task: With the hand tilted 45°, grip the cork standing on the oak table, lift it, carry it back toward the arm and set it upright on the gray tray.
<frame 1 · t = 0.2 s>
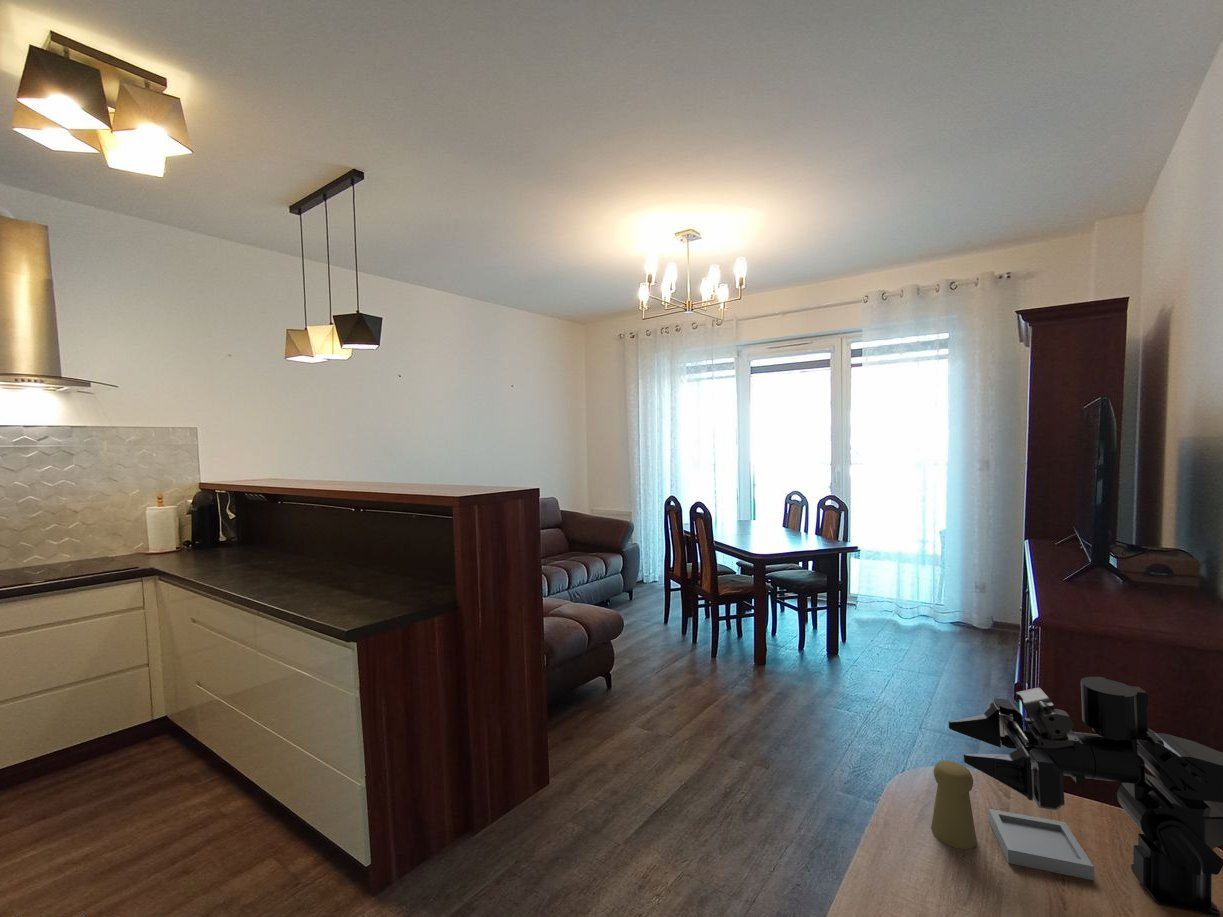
hand: (955, 740, 81), 17 cm above the table, tool horizontal, fingers open, 9 cm apart
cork: (953, 835, 84), on the table
gray tray: (1037, 848, 81), on the table
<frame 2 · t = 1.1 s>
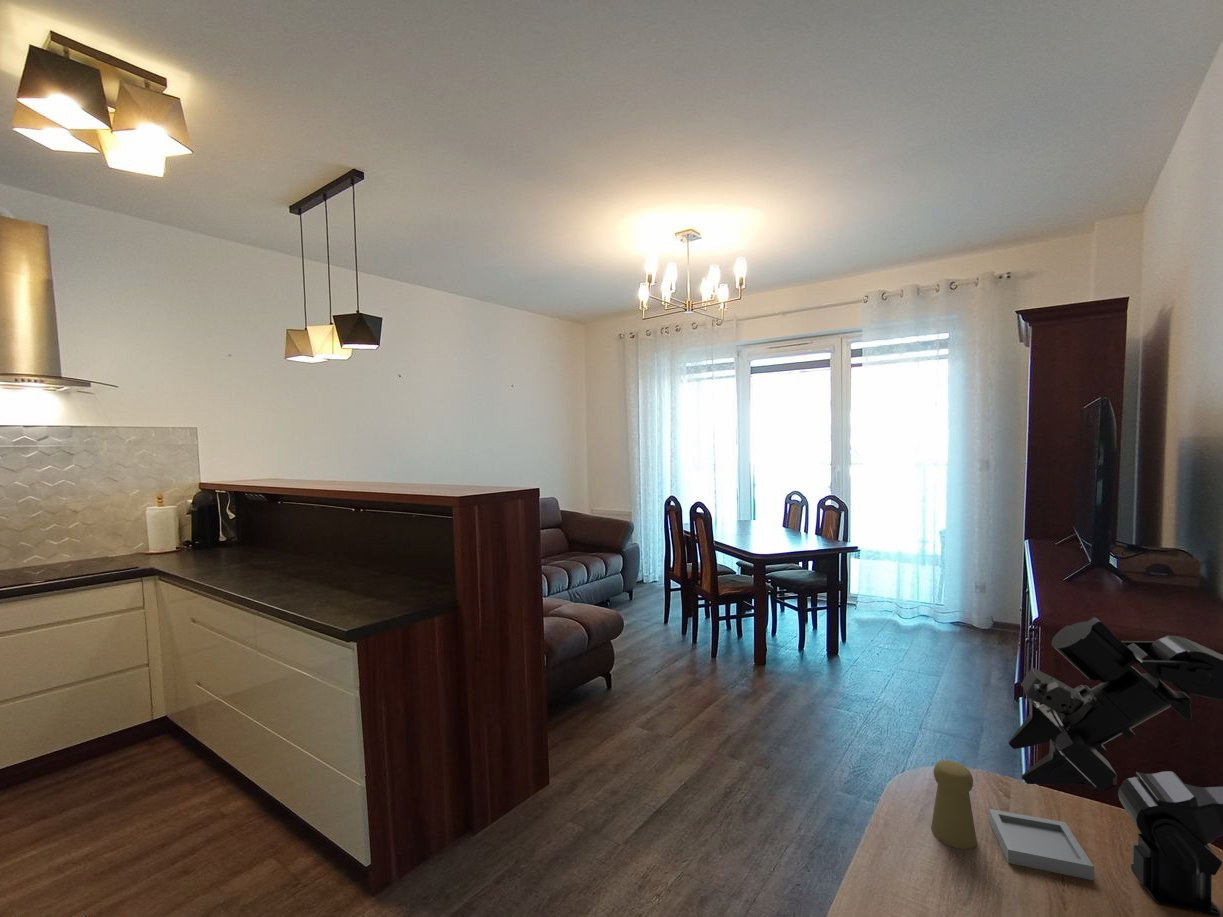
hand: (1017, 762, 80), 14 cm above the table, tool tilted 45°, fingers open, 9 cm apart
nothing on the table moved.
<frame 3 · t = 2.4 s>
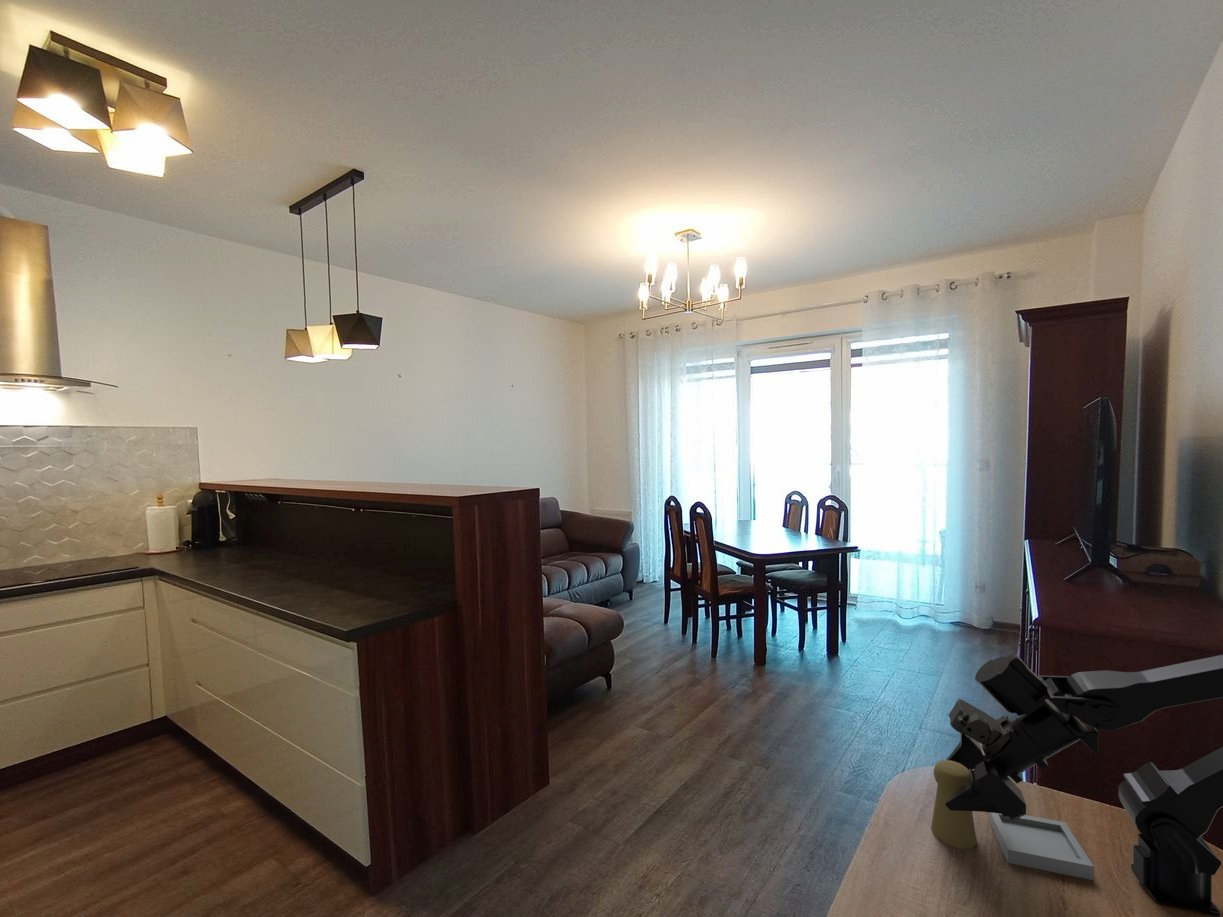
hand: (944, 788, 85), 7 cm above the table, tool tilted 45°, fingers open, 9 cm apart
nothing on the table moved.
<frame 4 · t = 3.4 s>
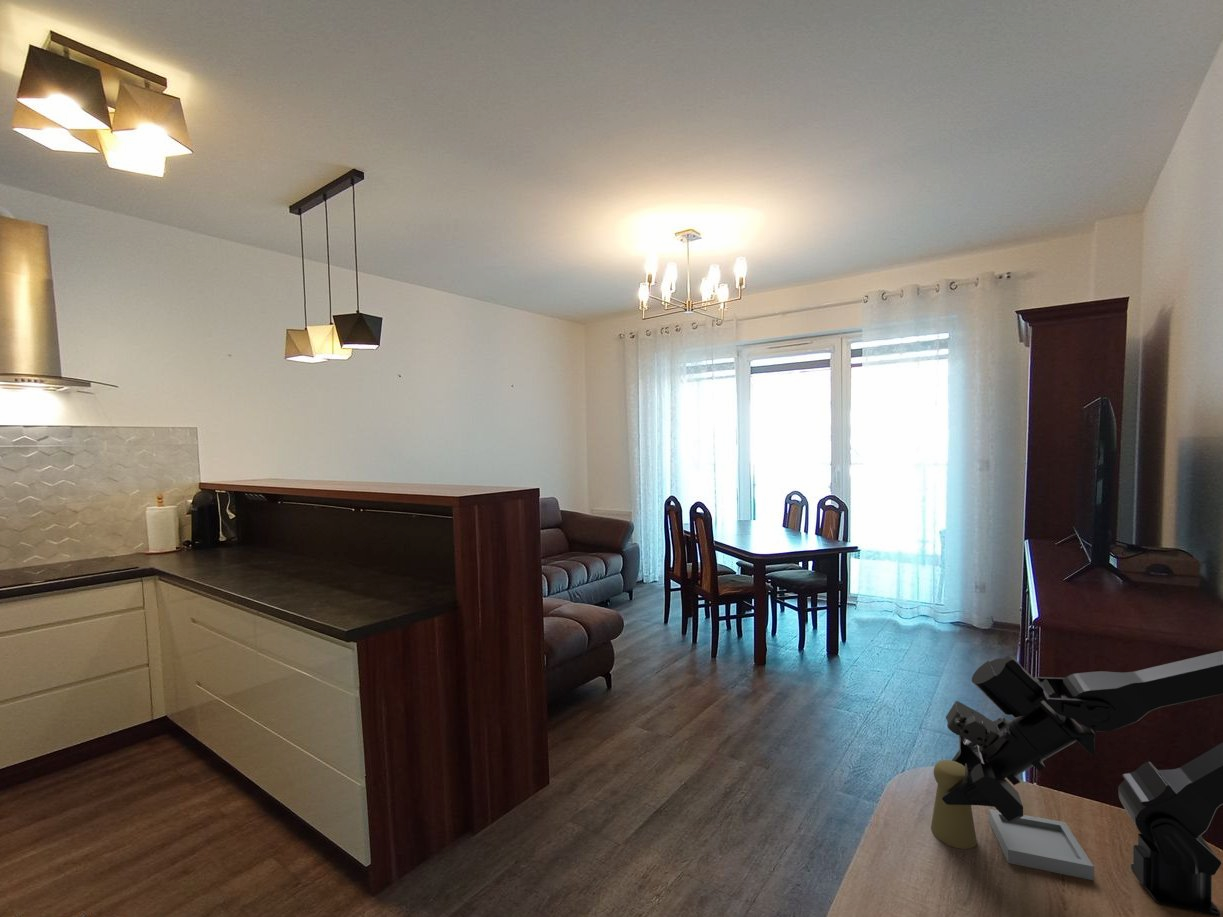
hand: (942, 790, 85), 7 cm above the table, tool tilted 45°, fingers closed on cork, 5 cm apart
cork: (953, 835, 84), on the table, touching gripper
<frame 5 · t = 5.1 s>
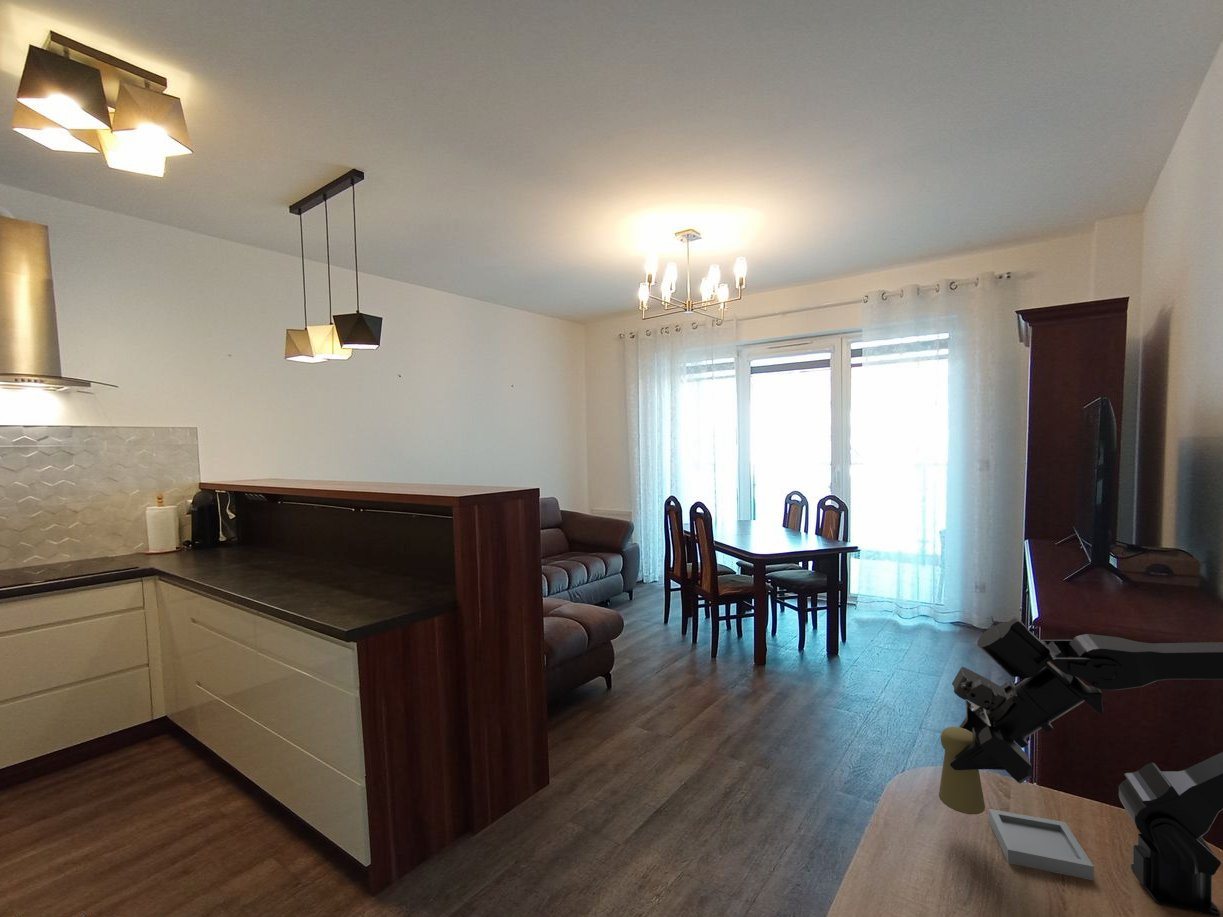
hand: (950, 757, 84), 12 cm above the table, tool tilted 45°, fingers closed on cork, 5 cm apart
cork: (961, 802, 84), point 5 cm above the table, touching gripper
when the fingers open (9 cm above the table, at t = 6.9 s): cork drops 1 cm, resting on gray tray.
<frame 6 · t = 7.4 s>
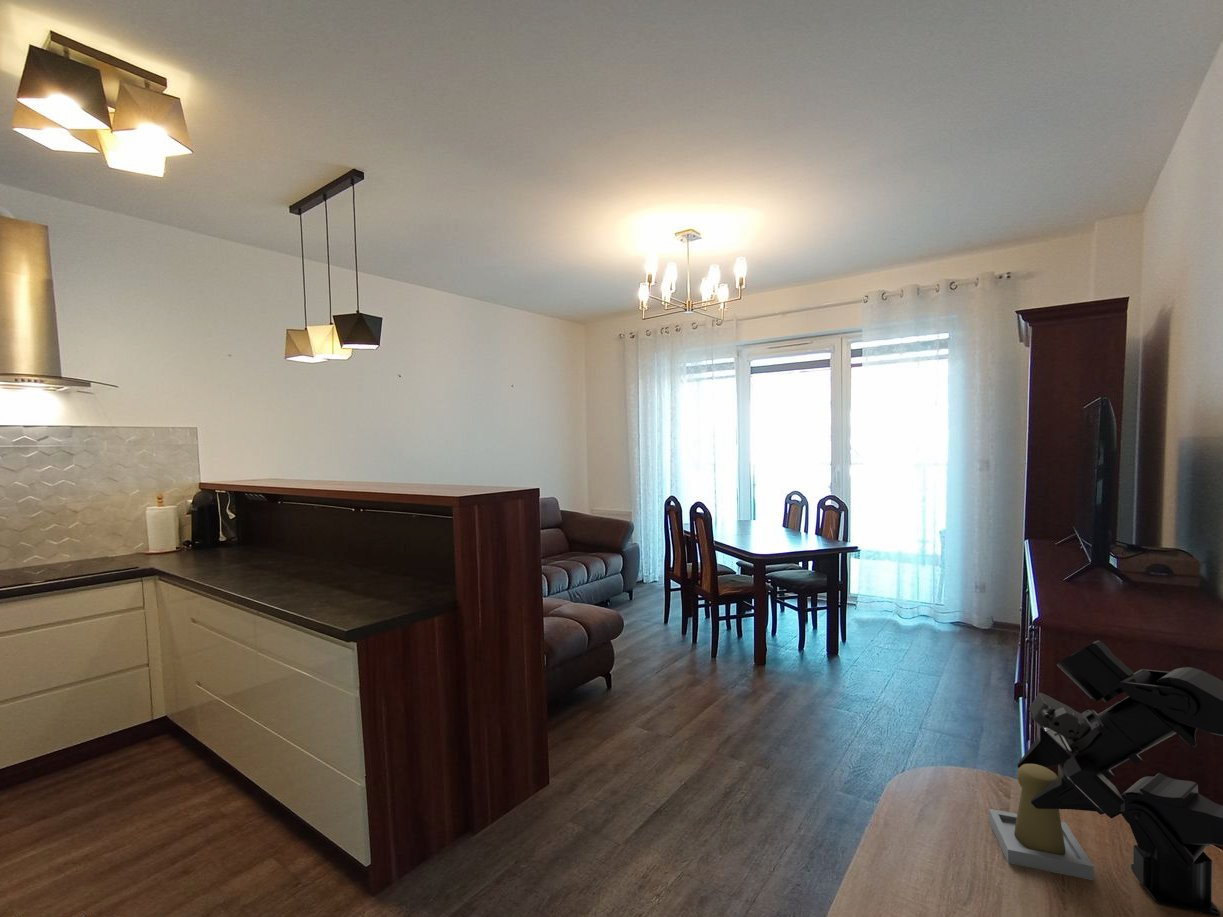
hand: (1026, 785, 81), 9 cm above the table, tool tilted 45°, fingers open, 9 cm apart
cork: (1039, 842, 81), point 1 cm above the table, touching gray tray
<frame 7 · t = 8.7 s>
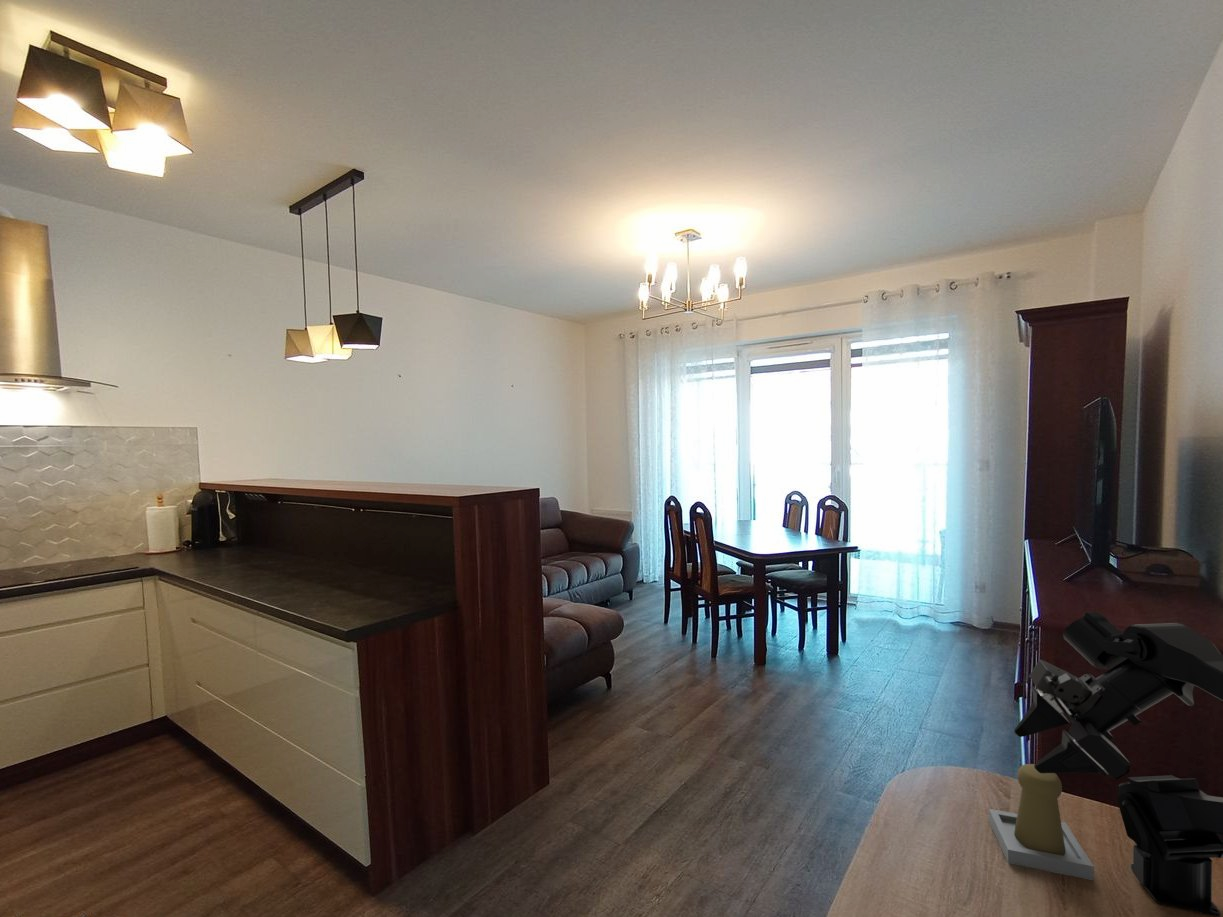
hand: (1026, 751, 82), 14 cm above the table, tool tilted 45°, fingers open, 9 cm apart
nothing on the table moved.
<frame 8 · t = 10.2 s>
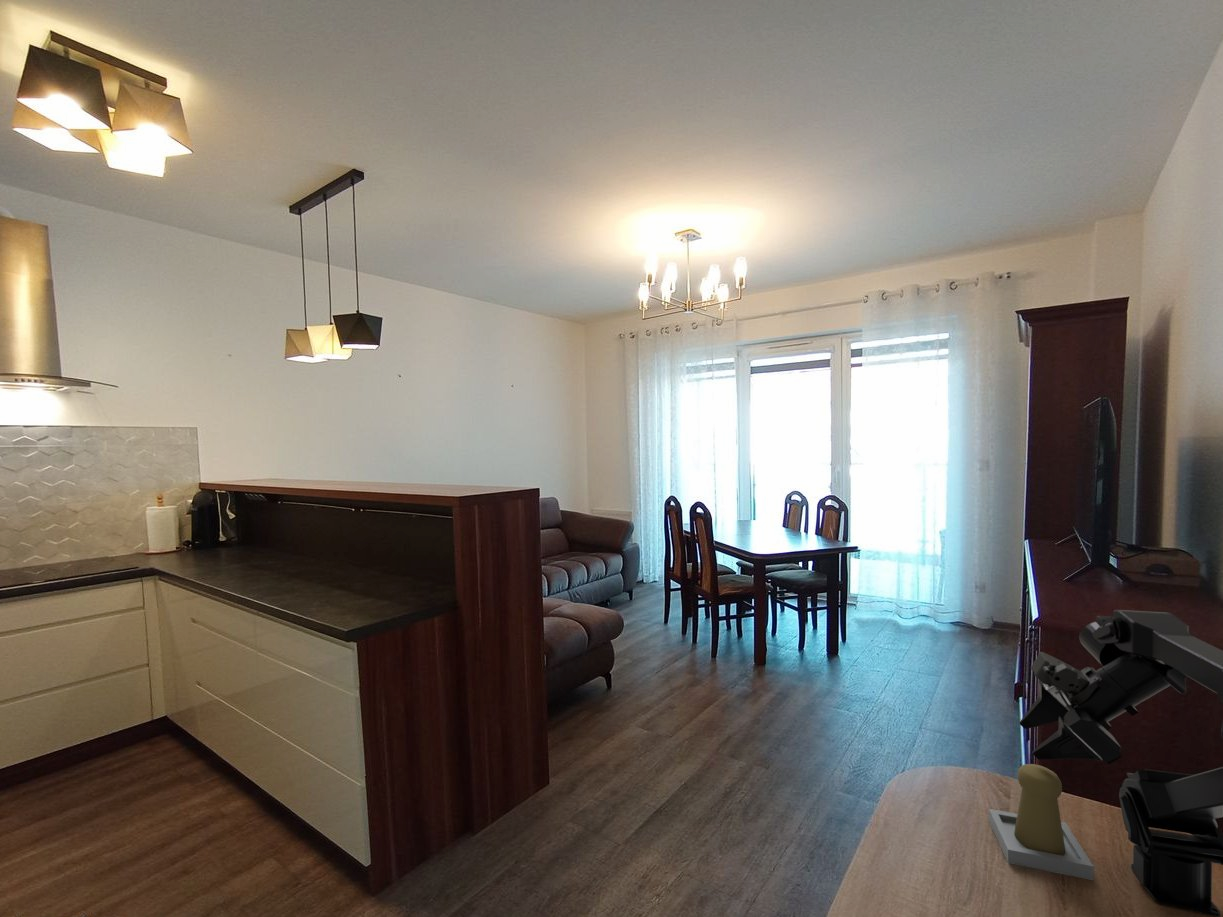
hand: (1028, 740, 86), 14 cm above the table, tool tilted 45°, fingers open, 9 cm apart
nothing on the table moved.
at the end: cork 0.2 cm off-centre on the gray tray, point 1.0 cm above the gray tray's base; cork tilted 0°; the gripper is holding nothing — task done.
